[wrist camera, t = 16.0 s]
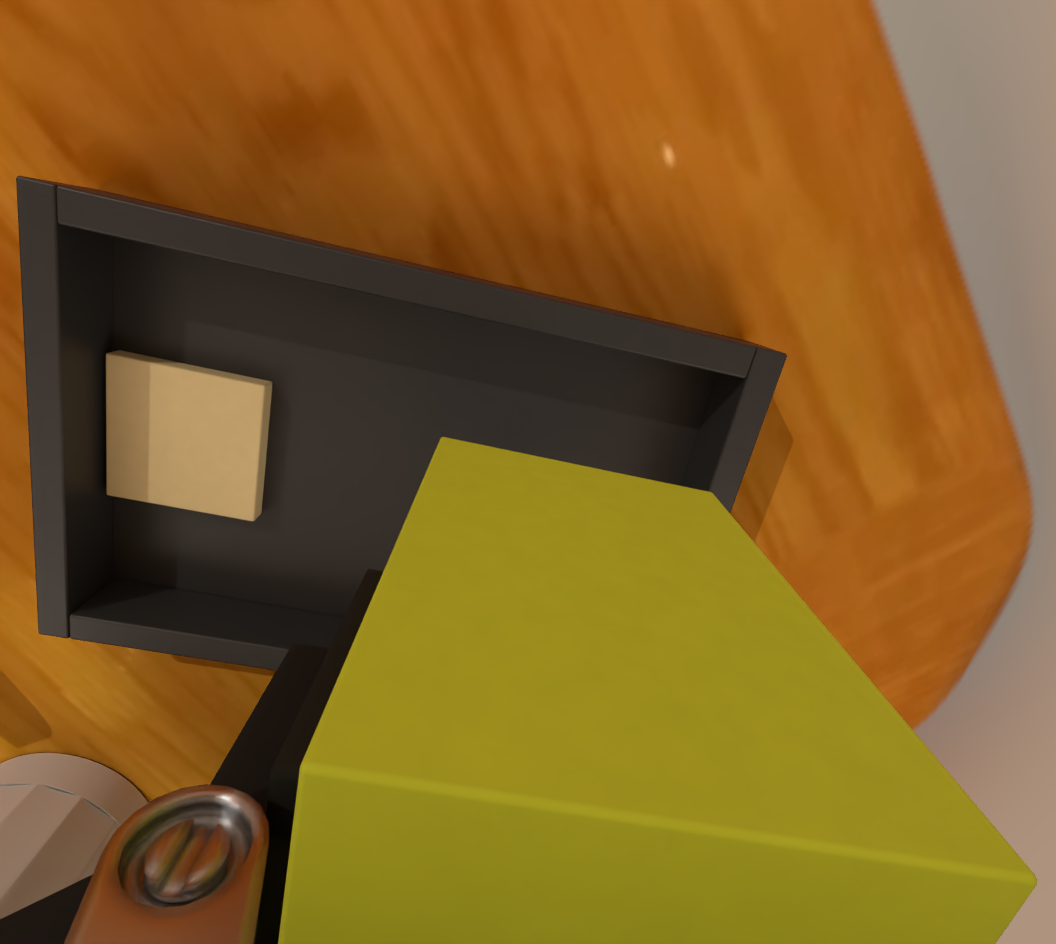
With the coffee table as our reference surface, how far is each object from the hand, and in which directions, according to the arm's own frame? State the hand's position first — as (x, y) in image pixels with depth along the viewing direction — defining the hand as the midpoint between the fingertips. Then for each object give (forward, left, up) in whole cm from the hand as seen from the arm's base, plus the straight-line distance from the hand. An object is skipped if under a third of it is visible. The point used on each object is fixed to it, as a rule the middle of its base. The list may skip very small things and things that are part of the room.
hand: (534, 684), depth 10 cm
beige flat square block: (+9, 0, -8) cm, 13 cm away
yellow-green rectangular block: (0, 0, -1) cm, 1 cm away
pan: (+3, 0, -9) cm, 10 cm away
